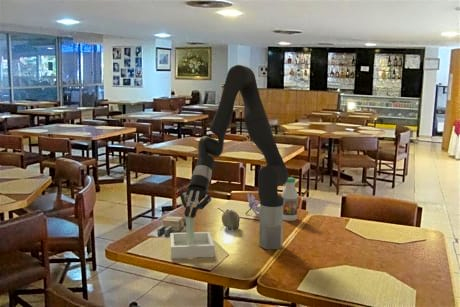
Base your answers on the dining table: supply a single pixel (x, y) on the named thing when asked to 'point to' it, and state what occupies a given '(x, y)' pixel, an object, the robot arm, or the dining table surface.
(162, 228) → the rack
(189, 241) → the pale green block
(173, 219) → the offcut top
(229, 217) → the grey rounded lump
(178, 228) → the offcut bottom
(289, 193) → the milk bottle
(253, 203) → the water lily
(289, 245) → the dining table surface
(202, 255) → the tray
